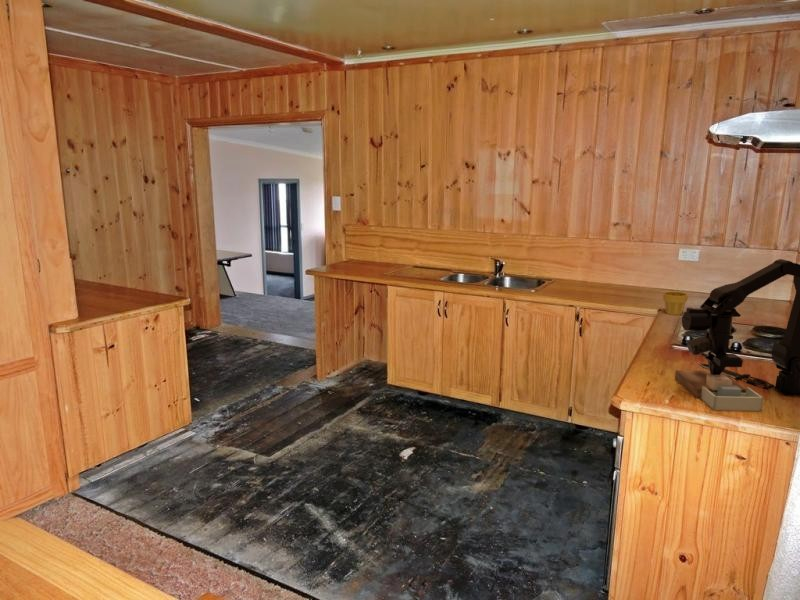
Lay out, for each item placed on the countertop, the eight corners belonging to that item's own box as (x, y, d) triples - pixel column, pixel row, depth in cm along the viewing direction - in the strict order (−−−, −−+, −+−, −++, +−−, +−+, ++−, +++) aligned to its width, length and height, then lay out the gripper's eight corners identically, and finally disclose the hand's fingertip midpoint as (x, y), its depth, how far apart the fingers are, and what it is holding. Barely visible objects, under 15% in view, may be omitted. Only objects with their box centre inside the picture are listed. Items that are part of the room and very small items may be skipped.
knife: (695, 365, 193) (695, 362, 193) (709, 363, 195) (710, 360, 195) (761, 391, 170) (762, 387, 170) (777, 388, 172) (777, 384, 172)
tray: (746, 399, 163) (748, 387, 162) (761, 411, 155) (763, 397, 154) (700, 399, 164) (702, 386, 163) (713, 410, 156) (715, 397, 155)
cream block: (723, 384, 167) (724, 375, 166) (731, 390, 162) (732, 380, 162) (705, 383, 168) (707, 374, 167) (713, 390, 163) (714, 380, 162)
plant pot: (665, 315, 259) (667, 295, 257) (659, 310, 269) (660, 291, 267) (689, 316, 258) (691, 295, 255) (681, 311, 268) (683, 291, 265)
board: (719, 379, 179) (720, 370, 178) (745, 399, 163) (746, 389, 163) (674, 378, 180) (675, 370, 180) (696, 398, 165) (697, 388, 164)
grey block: (736, 385, 160) (741, 389, 157) (734, 401, 161) (739, 405, 158) (718, 385, 160) (722, 389, 157) (716, 401, 161) (720, 405, 158)
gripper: (679, 321, 175) (674, 368, 178) (705, 339, 156) (699, 390, 160) (716, 322, 174) (710, 368, 177) (746, 339, 155) (739, 391, 159)
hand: (713, 379), depth 168 cm, fingers closed
